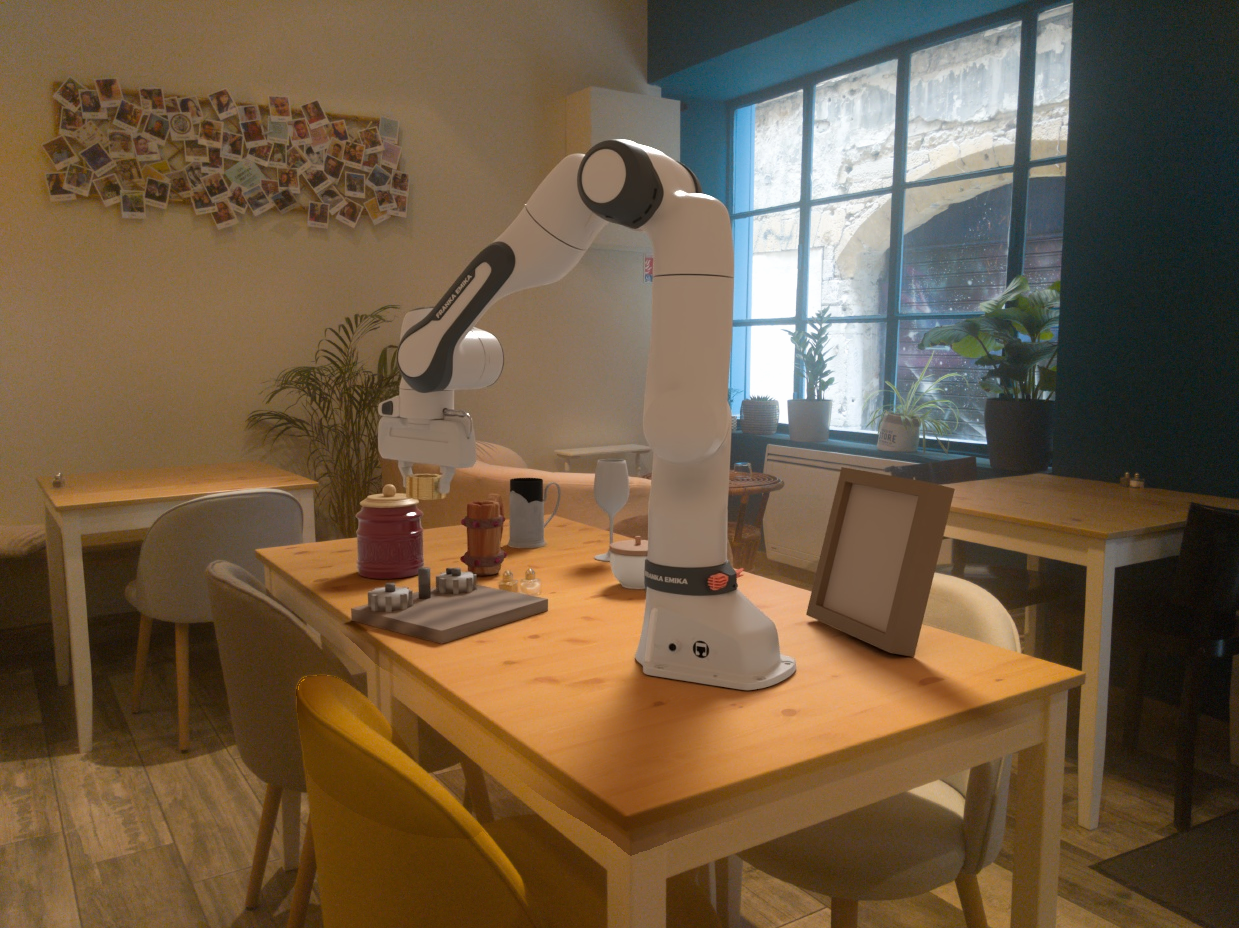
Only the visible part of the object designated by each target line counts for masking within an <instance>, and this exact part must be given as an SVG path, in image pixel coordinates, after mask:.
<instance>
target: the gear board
mask: <svg viewBox="0 0 1239 928" xmlns="http://www.w3.org/2000/svg"><path fill="white" fill-rule="evenodd" d="M417 576H418V577H417V581H418V584H417V585H418V591H416V592H413V589H410V587H407V586H403V587H402V586H396V583H395V582H387V583H385V584H384V587H375V588H373V590H369V591H367V604H364V605H360V606H355V607H352V608H350V613H351V614H350V619H351V621H353V622H356V623H360V624H364V625H367V626H371V627H375V628H379V629H382V630H386V631H387V630H388V631H391V632H394V633H399V634H402V635H406V636H409V637H414V638H417V639H421V640H425V641H428V642H429V641H430V642H433V643H436V644H437V643H438V644H446V643H450V642H453V641H455V640H459V639H463V638H465V637H468V636H471V635H474V634H475V635H476V634H477V633H481V632H483V631H487V630H491V629H493V628H497V627H500V626H503V625H506V624H509V623H512V622H515V621H519V620H522V619H525V618H529V617H532V616H535V615H538V614H541V613H544V612H547V611H549V598H545V597H540V596H535V595H530V594H526V593H520V592H515V591H510V590H505V589H501V588H495V587H491V586H487V585H486V586H485V585H480V584H478V583H477V582H478V581H477V580H478V579H477V576H478V575H477V574H473V572H468V571H462V568H461V567H446V568H445V571H443V572H440V574H437V575H435V587H431V585H432V583H431V567H428V566H423V567H421V568H418V574H417Z"/></svg>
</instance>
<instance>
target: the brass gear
mask: <svg viewBox="0 0 1239 928" xmlns="http://www.w3.org/2000/svg"><path fill="white" fill-rule="evenodd" d="M441 476H442V474H439V473H415V474H414V473H413V474H410V475H406V488H405V494H406V497H407V498H409V499H411V498H412V499H416V500H418V501H419V500H423V501H429V500H433V501H434V500H436V501H437V500H438V499H439V500H440V499H441V500H443V499H445V498H447V493H446V494H441V493H437V492H436V482H439V481H440V479H441Z"/></svg>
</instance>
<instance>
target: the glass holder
mask: <svg viewBox="0 0 1239 928" xmlns="http://www.w3.org/2000/svg"><path fill="white" fill-rule="evenodd" d="M551 485H555V486H556V487H557V501H556V505H555V508H554V510H553V511H552V513H551V515H550V516H549V517H548V519H547V520H546V521H545V513H544V512H545V507H544V506H545V504H544V503H545V502H546V501H547V498H548V491H549V488H550V486H551ZM561 493H562V492H561V487H560V485H559V484H558V483H557V482H553V481H552V482H549V483H547V485H546V486H545V489H544V479H543V478H537V477H515V478H511V479H509V495H508V496H509V497H508V499H509V500H508V501H509V502H508V503H509V511H508V512H509V515H508V516H509V519H508V520H509V523H508V524H509V540H508V543H507V546H508V547H510V548H516V549H535V548H542V547H545V546H546V545H547V544H546V543H547V542H546V541H545V528H546V527H547V526H548V524H549V523H550V522H551V521H552V519H553V518H554V516H555V515H556V513H557V512H558V509H559V506H560V502H561V495H562V494H561Z"/></svg>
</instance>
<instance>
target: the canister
mask: <svg viewBox="0 0 1239 928" xmlns="http://www.w3.org/2000/svg"><path fill="white" fill-rule="evenodd" d="M419 503H420V501H419V499H418V500H416V499H412V498H411V499H409V498H407V497H406V493H403V492H401V493H399V492H397V488H396V486H395V485H393V484H391V483H389V484H385V485H384V486H383V487H382V493H376V494H371V495H370V494H369V495H367V497H366V498H364V499H363V500H361V501H360V502H359V505H360V506H362V507H361V509H360V510H359V511H358V512H356V513H355V518H356V519H357V520H358V528H357V530H356V531H355V534H356V540H357V541H356V542H357V543H356V545H357V547H356V549H357V560H356V568H357V572H358V575H359V576H361V577H364V578H367V579H375V580H376V579H377V580H378V579H379V580H388V579H389V580H391V579H392V580H393V579H405V578H409V577H413V576H414V577H415V576H418V568H421V567H425V557H424V528H423V527H422V521H421V520H422V517H423V515H424V512H423V510H421V509H419V508H418V504H419Z"/></svg>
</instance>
